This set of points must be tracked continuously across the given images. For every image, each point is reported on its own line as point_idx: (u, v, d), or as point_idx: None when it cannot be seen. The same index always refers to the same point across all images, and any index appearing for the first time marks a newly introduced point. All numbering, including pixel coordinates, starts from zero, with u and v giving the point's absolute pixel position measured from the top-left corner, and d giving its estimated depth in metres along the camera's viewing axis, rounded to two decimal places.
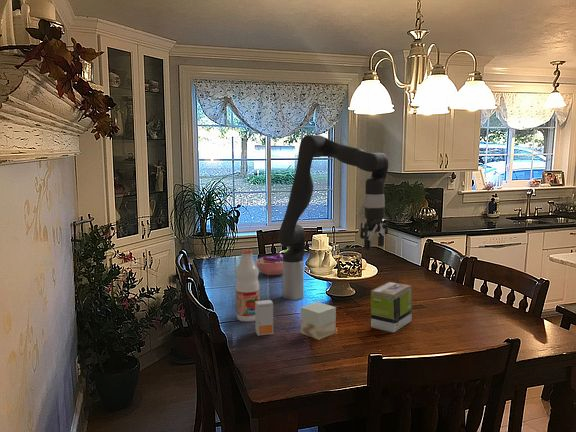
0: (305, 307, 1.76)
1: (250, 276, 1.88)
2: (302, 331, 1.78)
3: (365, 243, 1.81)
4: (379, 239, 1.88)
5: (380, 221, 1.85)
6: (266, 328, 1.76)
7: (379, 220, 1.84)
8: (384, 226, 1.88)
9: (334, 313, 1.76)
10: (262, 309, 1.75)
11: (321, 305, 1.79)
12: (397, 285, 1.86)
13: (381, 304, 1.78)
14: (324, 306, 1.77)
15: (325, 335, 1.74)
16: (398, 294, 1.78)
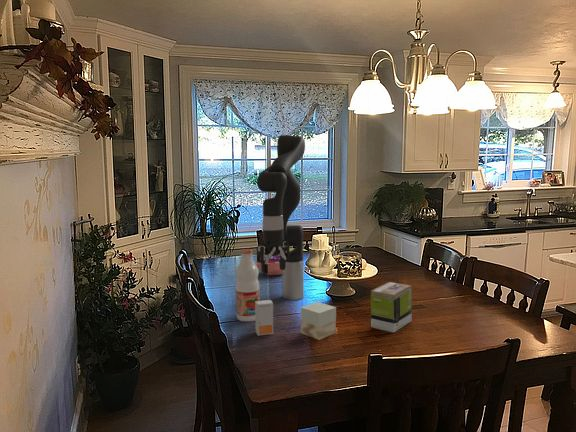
0: (305, 308, 1.76)
1: (250, 276, 1.88)
2: (302, 331, 1.77)
3: (262, 267, 1.72)
4: (280, 262, 1.79)
5: (280, 244, 1.75)
6: (266, 328, 1.76)
7: (278, 243, 1.75)
8: (285, 249, 1.79)
9: (334, 313, 1.76)
10: (262, 309, 1.75)
11: (321, 305, 1.79)
12: (397, 285, 1.86)
13: (381, 304, 1.78)
14: (324, 306, 1.77)
15: (325, 335, 1.74)
16: (398, 294, 1.78)
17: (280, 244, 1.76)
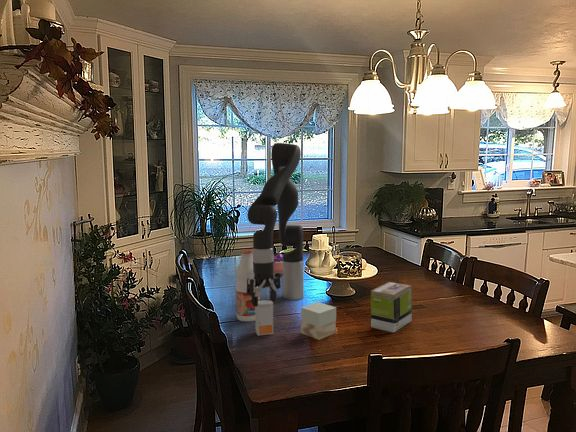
0: (305, 308, 1.76)
1: (250, 276, 1.88)
2: (302, 331, 1.78)
3: (252, 299, 1.73)
4: (271, 293, 1.79)
5: (270, 275, 1.76)
6: (266, 328, 1.76)
7: (269, 275, 1.76)
8: (276, 280, 1.79)
9: (334, 313, 1.76)
10: (262, 309, 1.75)
11: (321, 305, 1.79)
12: (397, 285, 1.86)
13: (381, 304, 1.78)
14: (324, 306, 1.77)
15: (325, 335, 1.74)
16: (398, 294, 1.78)
17: (270, 276, 1.76)
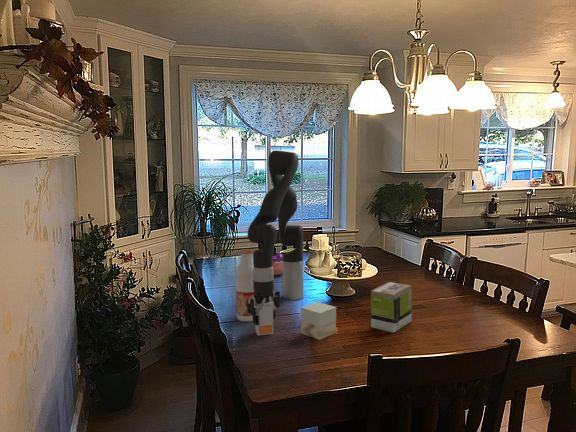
0: (305, 308, 1.76)
1: (250, 276, 1.88)
2: (302, 331, 1.78)
3: (253, 318, 1.74)
4: None
5: (270, 293, 1.77)
6: (266, 328, 1.76)
7: (269, 293, 1.77)
8: (276, 298, 1.80)
9: (334, 313, 1.76)
10: (262, 309, 1.75)
11: (321, 305, 1.79)
12: (397, 285, 1.86)
13: (381, 304, 1.78)
14: (324, 306, 1.77)
15: (325, 335, 1.74)
16: (398, 294, 1.78)
17: (270, 294, 1.77)
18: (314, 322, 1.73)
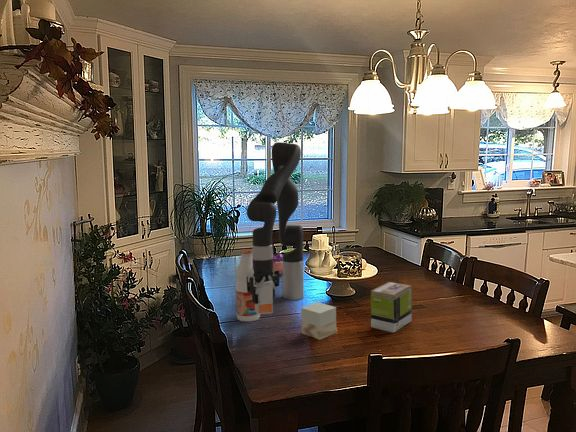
0: (305, 308, 1.76)
1: (250, 276, 1.88)
2: (303, 331, 1.78)
3: (253, 297, 1.74)
4: None
5: (270, 272, 1.76)
6: (265, 306, 1.75)
7: (268, 271, 1.76)
8: (275, 277, 1.79)
9: (334, 313, 1.76)
10: (261, 288, 1.74)
11: (321, 305, 1.79)
12: (397, 285, 1.86)
13: (381, 304, 1.78)
14: (324, 306, 1.77)
15: (326, 335, 1.74)
16: (398, 294, 1.78)
17: (270, 273, 1.76)
18: (314, 322, 1.73)
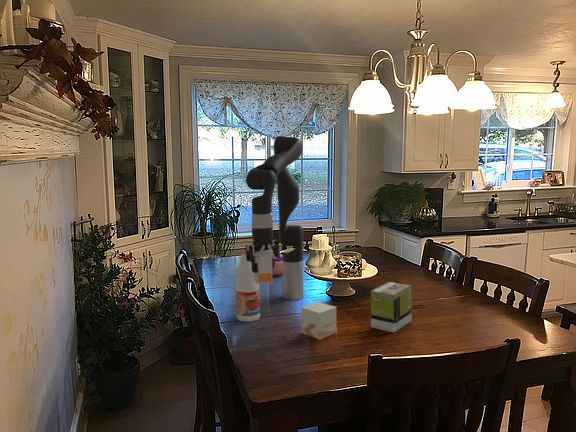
0: (305, 307, 1.76)
1: (250, 276, 1.88)
2: (303, 331, 1.78)
3: (252, 266, 1.72)
4: None
5: (269, 241, 1.75)
6: (265, 276, 1.74)
7: (268, 241, 1.74)
8: (275, 247, 1.78)
9: (335, 313, 1.77)
10: (261, 257, 1.72)
11: (321, 305, 1.79)
12: (397, 285, 1.86)
13: (381, 304, 1.78)
14: (324, 306, 1.78)
15: (326, 335, 1.74)
16: (398, 294, 1.78)
17: (269, 242, 1.75)
18: (314, 322, 1.73)
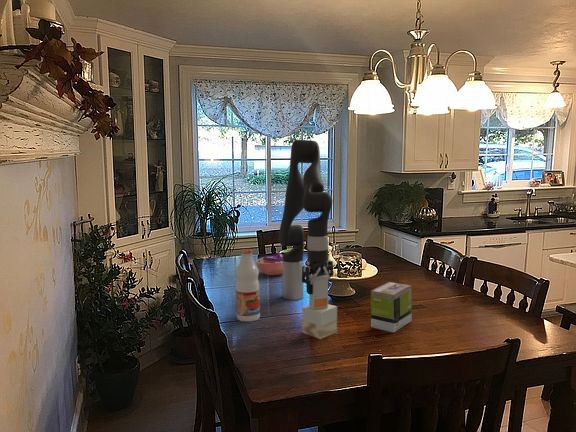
0: (306, 307, 1.77)
1: (250, 276, 1.88)
2: (303, 330, 1.78)
3: (307, 287, 1.72)
4: None
5: (324, 263, 1.75)
6: (321, 301, 1.75)
7: (323, 262, 1.75)
8: (329, 268, 1.78)
9: (335, 312, 1.77)
10: (317, 282, 1.73)
11: None
12: (397, 285, 1.86)
13: (381, 304, 1.78)
14: None
15: (326, 334, 1.75)
16: (398, 294, 1.78)
17: (324, 264, 1.75)
18: (315, 321, 1.73)
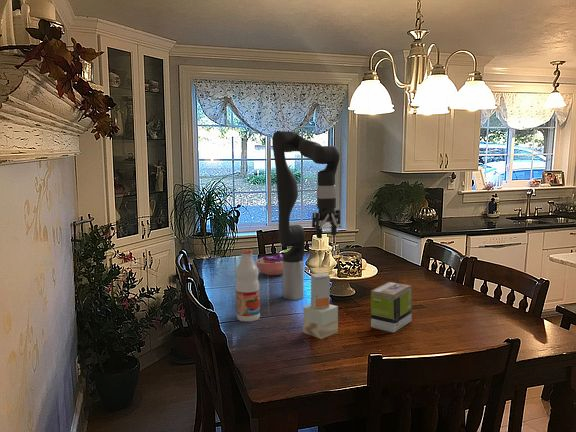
0: (307, 307, 1.77)
1: (250, 276, 1.88)
2: (304, 330, 1.78)
3: (317, 232, 1.91)
4: (332, 228, 1.97)
5: (332, 211, 1.94)
6: (322, 301, 1.75)
7: (331, 210, 1.93)
8: (336, 216, 1.97)
9: (336, 312, 1.77)
10: (319, 282, 1.74)
11: None
12: (397, 285, 1.86)
13: (381, 304, 1.78)
14: None
15: (327, 334, 1.75)
16: (398, 294, 1.78)
17: (332, 212, 1.94)
18: (316, 321, 1.73)
